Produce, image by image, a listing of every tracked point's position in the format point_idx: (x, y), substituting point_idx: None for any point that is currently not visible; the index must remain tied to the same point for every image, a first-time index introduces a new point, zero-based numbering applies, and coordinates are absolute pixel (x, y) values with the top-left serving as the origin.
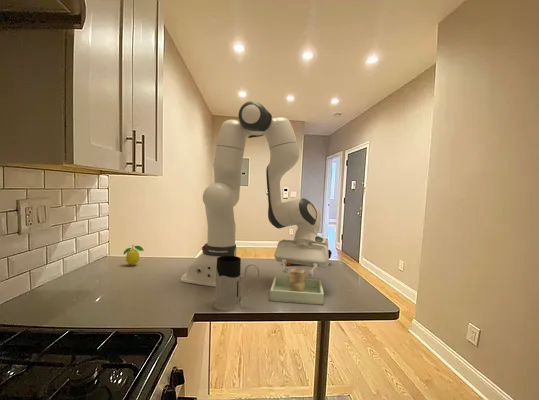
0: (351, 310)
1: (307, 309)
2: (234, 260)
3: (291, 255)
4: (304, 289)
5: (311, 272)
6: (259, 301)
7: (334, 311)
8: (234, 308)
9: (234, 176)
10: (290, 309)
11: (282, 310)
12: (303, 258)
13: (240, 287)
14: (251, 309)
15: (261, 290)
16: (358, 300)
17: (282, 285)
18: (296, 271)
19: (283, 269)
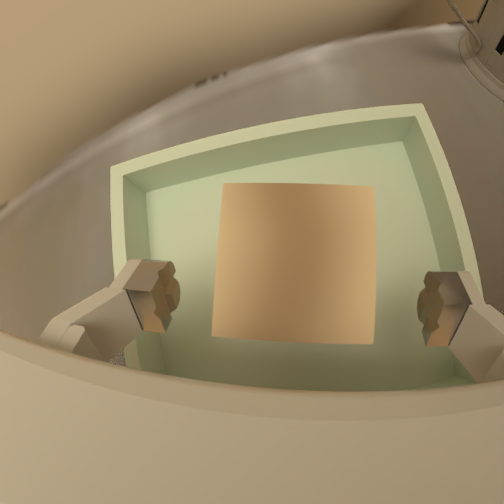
0: (48, 185)
1: (207, 108)
2: None
3: (478, 438)
4: (259, 366)
5: (136, 264)
6: (442, 116)
7: (102, 143)
8: (462, 37)
9: None
10: (281, 81)
11: (310, 63)
12: (201, 401)
13: (498, 24)
14: (420, 47)
15: (500, 265)
16: (18, 306)
17: (418, 383)
18: (301, 214)
19: (464, 272)
